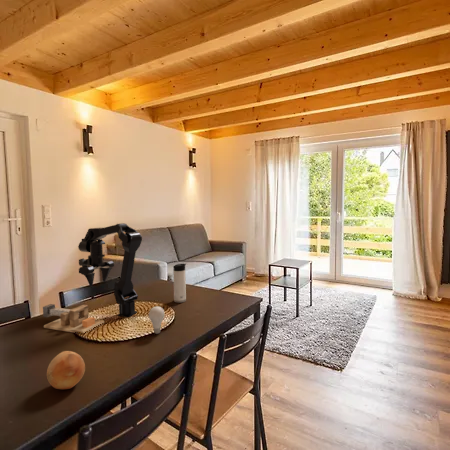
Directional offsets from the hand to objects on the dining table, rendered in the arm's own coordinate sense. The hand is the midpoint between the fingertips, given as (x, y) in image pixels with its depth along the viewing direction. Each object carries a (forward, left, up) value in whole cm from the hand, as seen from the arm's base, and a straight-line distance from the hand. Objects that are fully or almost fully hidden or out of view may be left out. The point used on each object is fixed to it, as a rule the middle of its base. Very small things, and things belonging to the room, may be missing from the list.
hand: (97, 283), depth 155 cm
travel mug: (-35, -21, -12) cm, 43 cm away
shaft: (0, +22, -9) cm, 24 cm away
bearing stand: (-7, +22, -12) cm, 26 cm away
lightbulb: (-45, +19, -12) cm, 50 cm away
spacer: (-13, +22, -10) cm, 27 cm away
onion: (-39, +58, -12) cm, 71 cm away
